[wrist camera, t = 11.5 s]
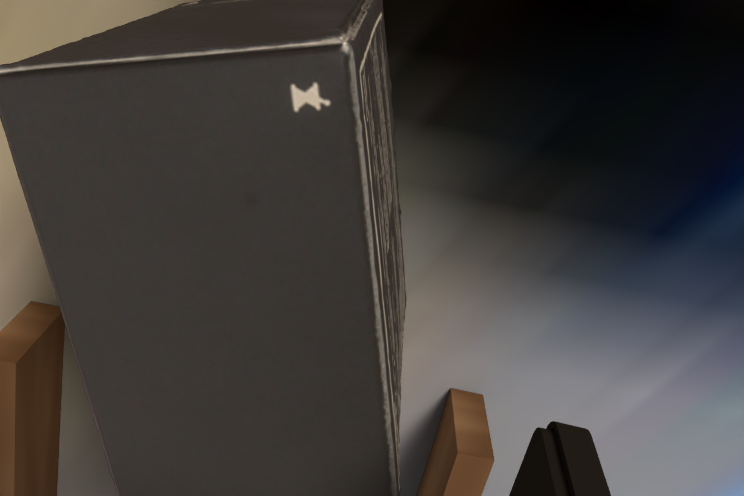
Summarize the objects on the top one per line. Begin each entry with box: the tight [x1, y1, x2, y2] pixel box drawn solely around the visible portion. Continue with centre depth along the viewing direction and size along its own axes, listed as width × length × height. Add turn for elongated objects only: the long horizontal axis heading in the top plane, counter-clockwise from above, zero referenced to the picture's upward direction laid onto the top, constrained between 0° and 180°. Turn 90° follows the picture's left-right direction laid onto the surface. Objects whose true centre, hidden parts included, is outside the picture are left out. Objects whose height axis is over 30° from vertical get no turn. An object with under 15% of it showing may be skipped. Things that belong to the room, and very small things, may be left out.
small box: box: [0, 0, 406, 496], centre depth 18 cm, size 11×6×10 cm, turn 5°
